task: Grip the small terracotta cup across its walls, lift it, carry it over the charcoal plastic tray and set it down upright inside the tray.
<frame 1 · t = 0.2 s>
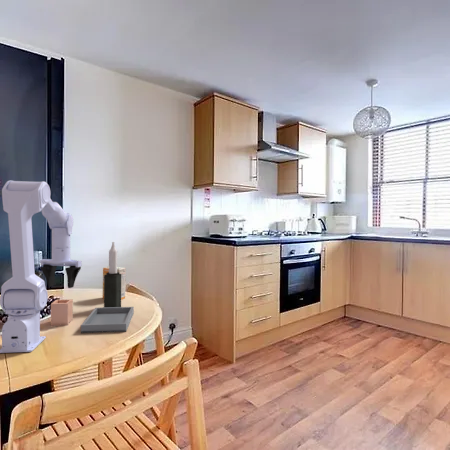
hand: (60, 286, 112), 10 cm above the table, tool pointing down, fingers open, 7 cm apart
cup: (61, 323, 105), on the table
tray: (109, 322, 106), on the table
candle: (112, 308, 121), on the table
supplement box: (113, 299, 135), on the table
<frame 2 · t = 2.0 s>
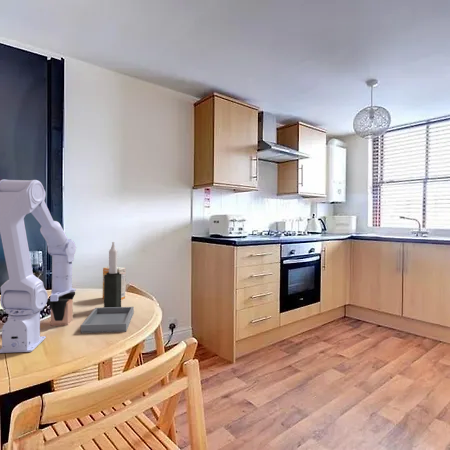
hand: (61, 317, 105), 2 cm above the table, tool pointing down, fingers closed on cup, 5 cm apart
cup: (61, 322, 105), on the table, touching gripper
everything else where it was.
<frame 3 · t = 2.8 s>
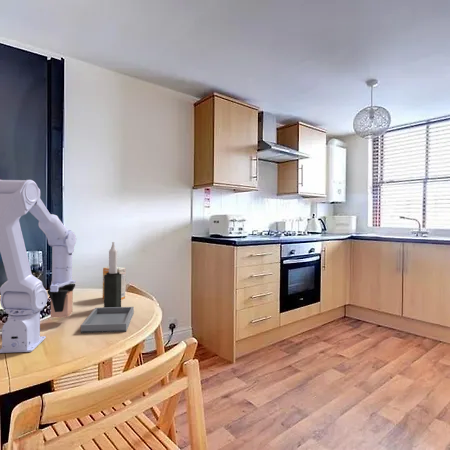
hand: (61, 309, 104), 5 cm above the table, tool pointing down, fingers closed on cup, 5 cm apart
cup: (61, 314, 104), point 3 cm above the table, touching gripper
everything else where it was.
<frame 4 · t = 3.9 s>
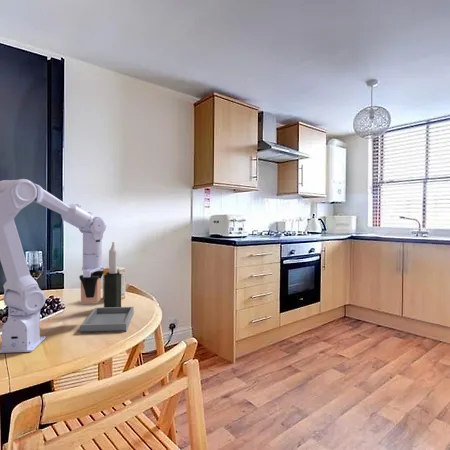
hand: (92, 295, 105), 9 cm above the table, tool pointing down, fingers closed on cup, 5 cm apart
cup: (91, 301, 105), point 7 cm above the table, touching gripper
everything else where it was.
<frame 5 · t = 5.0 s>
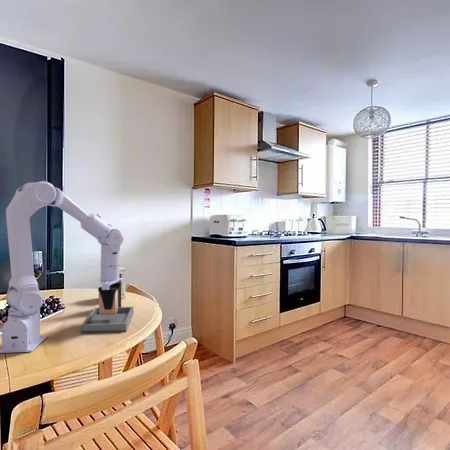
hand: (109, 306, 106), 5 cm above the table, tool pointing down, fingers closed on cup, 5 cm apart
cup: (108, 312, 106), point 3 cm above the table, touching gripper
everything else where it was.
when the fingers open (3 cm above the table, at t = 5.9 s): cup stays where it is, resting on tray.
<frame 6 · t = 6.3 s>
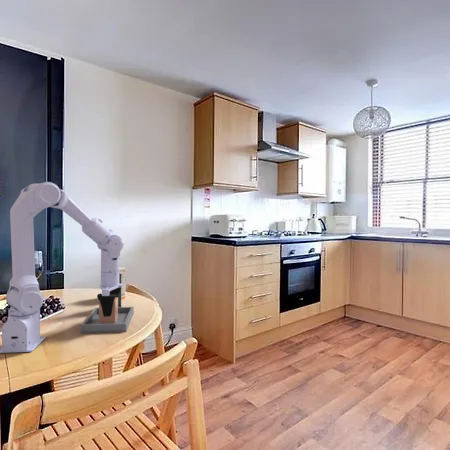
hand: (109, 312, 106), 3 cm above the table, tool pointing down, fingers open, 7 cm apart
cup: (108, 320, 106), point 1 cm above the table, touching tray
everything else where it was.
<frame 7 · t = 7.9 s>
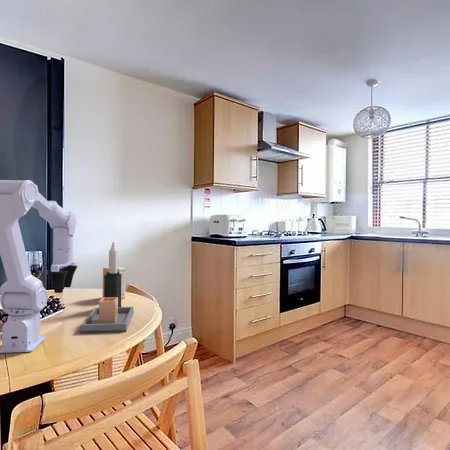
hand: (63, 289, 106), 10 cm above the table, tool pointing down, fingers open, 7 cm apart
nothing on the table moved.
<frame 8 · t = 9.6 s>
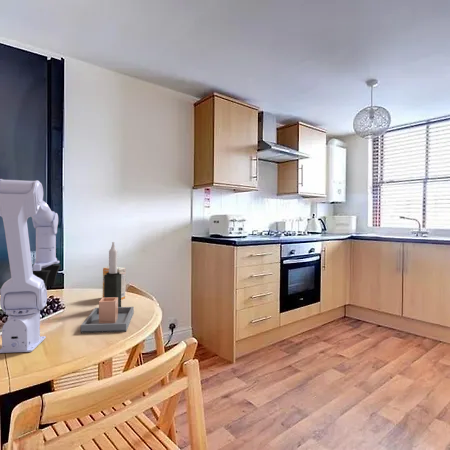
hand: (45, 288, 106), 10 cm above the table, tool pointing down, fingers open, 7 cm apart
nothing on the table moved.
at the end: cup inside the target area on the tray (0.4 cm from its centre), point 0.6 cm above the tray's base; cup tilted 0°; the gripper is holding nothing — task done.
